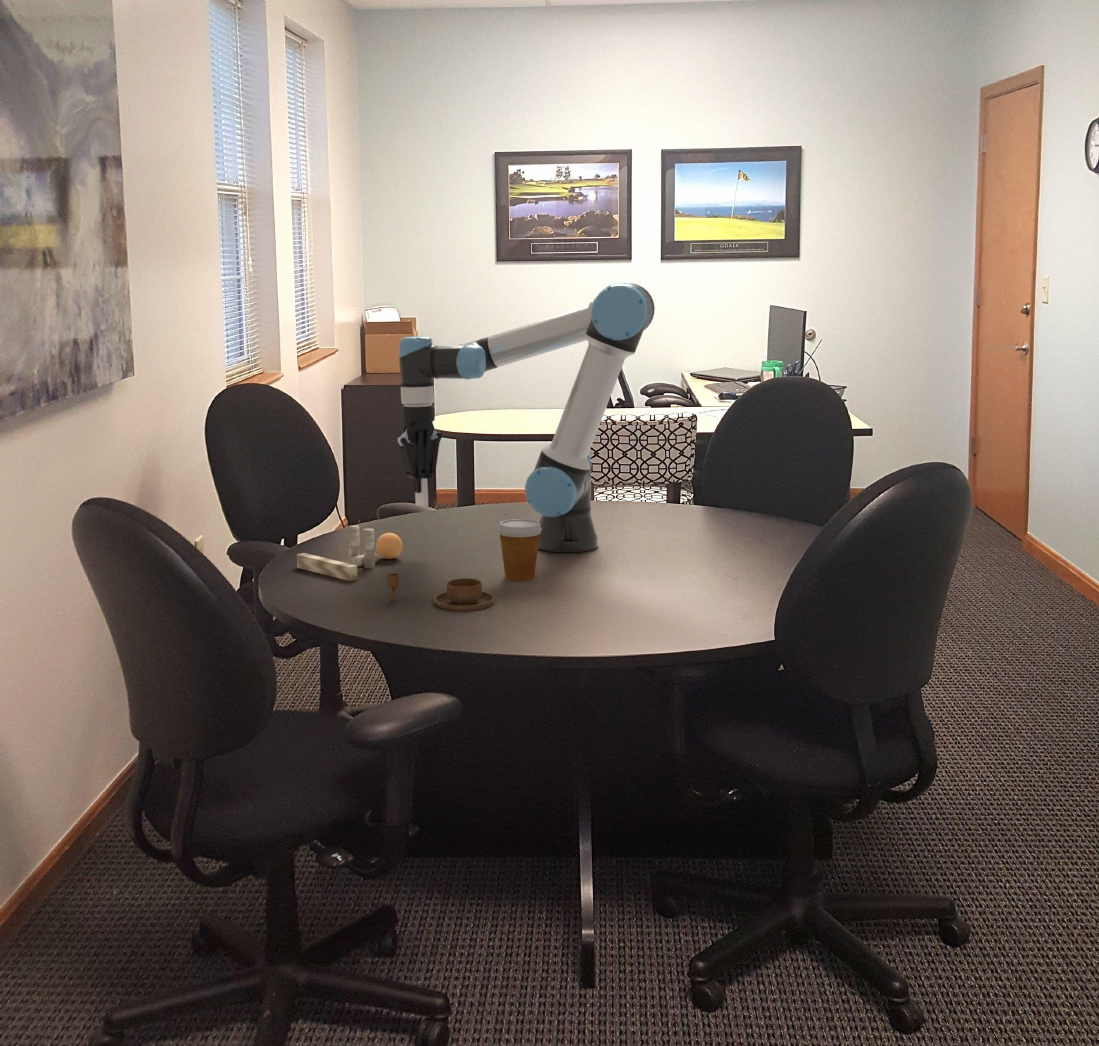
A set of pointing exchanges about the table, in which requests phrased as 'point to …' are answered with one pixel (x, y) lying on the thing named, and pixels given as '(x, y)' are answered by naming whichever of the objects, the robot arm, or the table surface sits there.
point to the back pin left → (368, 548)
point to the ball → (389, 545)
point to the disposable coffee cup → (519, 548)
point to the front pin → (357, 560)
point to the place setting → (453, 593)
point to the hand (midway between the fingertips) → (422, 505)
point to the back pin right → (354, 541)
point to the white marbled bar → (327, 566)
